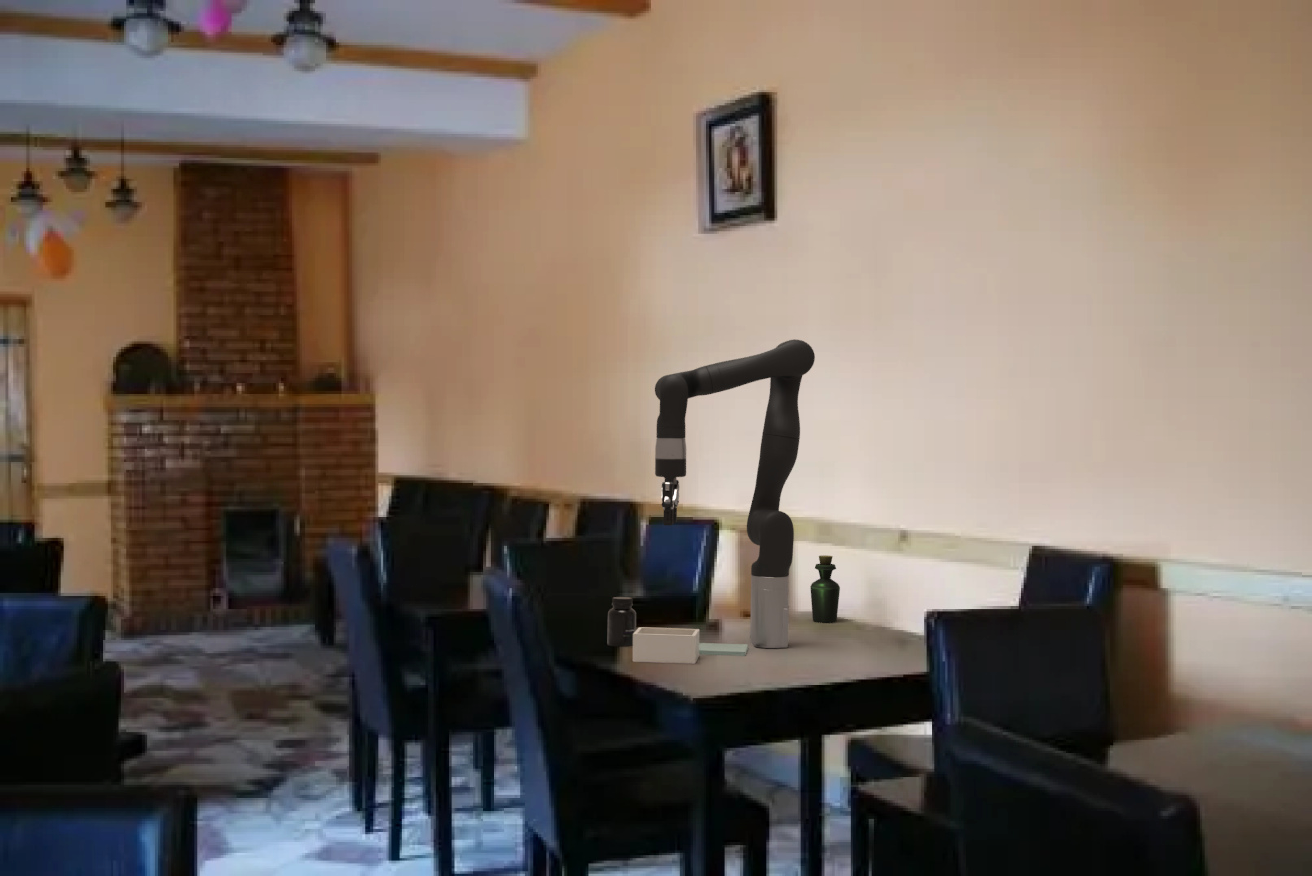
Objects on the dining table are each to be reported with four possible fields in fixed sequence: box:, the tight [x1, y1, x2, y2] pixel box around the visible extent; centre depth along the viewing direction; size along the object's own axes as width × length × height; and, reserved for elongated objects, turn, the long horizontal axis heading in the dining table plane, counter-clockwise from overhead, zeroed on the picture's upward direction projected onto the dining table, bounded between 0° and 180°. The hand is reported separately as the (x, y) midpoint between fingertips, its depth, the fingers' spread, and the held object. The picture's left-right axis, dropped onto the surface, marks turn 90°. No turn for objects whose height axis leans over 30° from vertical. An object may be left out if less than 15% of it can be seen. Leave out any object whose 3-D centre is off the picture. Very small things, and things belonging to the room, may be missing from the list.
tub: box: [632, 626, 700, 665], centre depth 314 cm, size 14×10×7 cm
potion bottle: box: [810, 554, 841, 624], centre depth 381 cm, size 8×8×18 cm
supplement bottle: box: [606, 596, 637, 648], centre depth 333 cm, size 7×7×12 cm
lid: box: [699, 642, 749, 657], centre depth 326 cm, size 19×11×3 cm, turn 83°
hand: (670, 523), depth 335 cm, fingers open, 8 cm apart
